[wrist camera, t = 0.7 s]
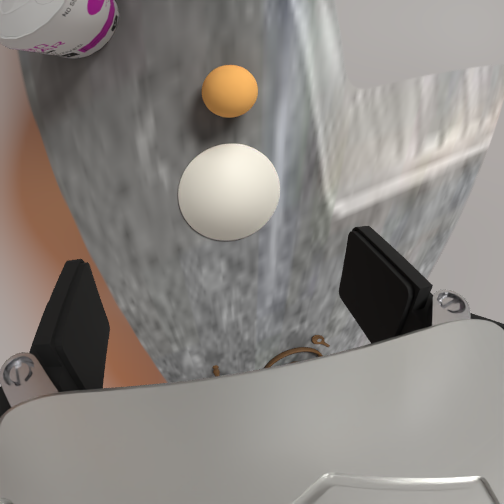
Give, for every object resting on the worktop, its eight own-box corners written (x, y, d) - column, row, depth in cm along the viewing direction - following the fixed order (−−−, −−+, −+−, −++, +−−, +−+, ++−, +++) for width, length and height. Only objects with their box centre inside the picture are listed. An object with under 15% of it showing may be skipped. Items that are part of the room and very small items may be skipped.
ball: (198, 68, 29) (202, 64, 24) (250, 65, 30) (263, 62, 25) (201, 117, 32) (205, 122, 27) (251, 113, 33) (264, 119, 28)
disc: (173, 149, 33) (173, 149, 33) (279, 140, 35) (280, 140, 35) (184, 245, 39) (184, 246, 39) (278, 233, 41) (279, 234, 41)
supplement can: (113, -19, 21) (78, -76, 9) (126, 43, 26) (90, 14, 13) (45, 9, 21) (-23, -21, 8) (57, 70, 25) (-14, 69, 12)
